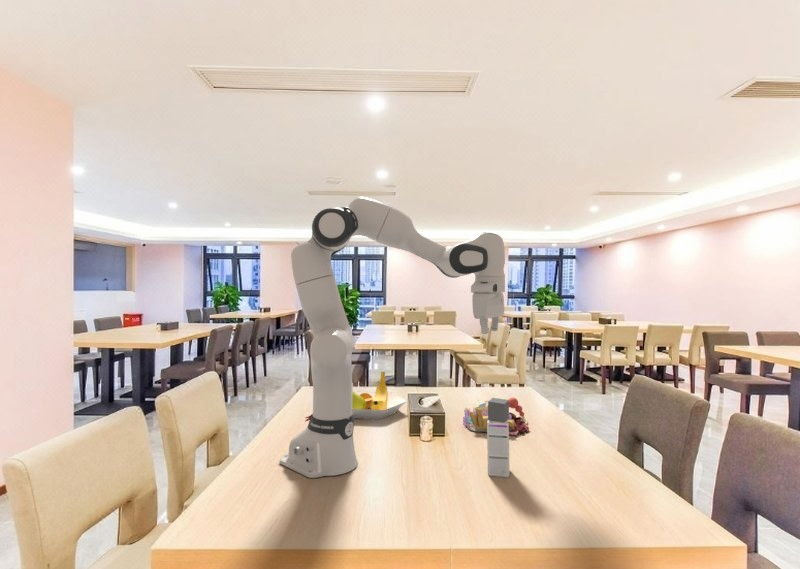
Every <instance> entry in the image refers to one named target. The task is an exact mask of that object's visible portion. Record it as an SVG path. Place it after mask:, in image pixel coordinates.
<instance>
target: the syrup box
mask: <svg viewBox="0 0 800 569" xmlns="http://www.w3.org/2000/svg"><path fill="white" fill-rule="evenodd" d="M486 433H487V434H486V437H487V439H486V443H487V444H486V445H487V476H490V477H499V478H510V434H509V423H508V420H507V421H506V422H505V423H503V422H497V421H491V420H488V418H487V432H486Z"/></svg>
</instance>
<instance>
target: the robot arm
mask: <svg viewBox="0 0 800 569" xmlns="http://www.w3.org/2000/svg"><path fill="white" fill-rule="evenodd" d="M311 230H312V231H311V232H312V233H311V237H310V239H309V240H307V241H304V242H301V243H300V244H298V245H296V246H295V247H293V249H292V251H291V254H290V255H291V256H290V260H291V261H290V262H291V269H292V275H293V280H294V284H295V287H296V291H297V295H298V298H299V302H300V306H301V308H302V312H303V315H304V316H305V318H306V320H307V323H308V325H309V329H310V330H311V333H312V336H313V339H312V341H311V343H310V347H309V348H310V349H309V350H310V351H309V353H310V369H311V370H310V371H311V380H312V414H310V415H308V416H306V417H305V420H304V422H308V425H307V427H305V428H304V429H303V430H301V431H300V432H299V433H298V434H297V435H296V436H294V437H293V438H292V439H291V440H290V442H289V447H288V452H286V453H285V454H284V455H282V457H281V458H280V460H279V464H280V465H283V466H284V467H286V468H288V469H291V470H293V471H295V472H297V473H298V474H301V475H303V476H305V477H307V478H310V479H315V478H320V477H328V476H329V477H330V476H339V475H343V474H346V473H349V472H351V471H353V470H354V469H355V468H357V467H358V464H359V462H358V459H357V455H356V450H355V444H354V443H355V442H354V427H355V418H354V414H353V413H352V392H354V391H353V388H354V387H353V370H352V368H353V367H352V365H353V364H352V357H353V356H352V353H353V350H354V346H355V339H354V336H353V333H352V330H351V326H350V322H349V320H348V317H347V314H346V311H345V309H344V305H343V302H342V299H341V295H340V292H339V288H338V285H337V281H336V278H335V274H334V269H333V267H332V262H331V257H332V256H334V255H335V254H337V253H338V252H341V251H342V250H343V249H345V247H346V246H347V245H348V244H349V242H350V240H351V238H352V237H354V236H361V237H362V236H363V237H366V238H368V239H371V240H372V241H375V242H377V243H379V244H380V245H381V244H382V245H384V246H386V247H387V246H388V247H390V248H394V249H398V250H402V251H405V252H409V253H411V254H413V255H415V256H417V257H419V258H421V259H424V260H426V261H428V262H430V263H431V264H433V265H434V266H435V267H436V268H437V269H438V271H440V272H441V273H442V274H443V275H444V276H446V277H448V278H454V279H455V278H459V277H463V276H469V275H471V274H474V277H475V278H474V282H473V284H472V285H471V286H470V292H471V293H473V294H472V297H471V298H472V301H471V302H472V313H473V317H474V319H475V320H476V319H477V320H479V324H480V329H481V330H480V331H481V332H480V333H481V334H482V335H489V332H490V331H491V332H497V331H498V330H499V322H500V317H502V316H504V314H505V299H504V298H505V297H504V294H503V293H505V292H506V275H505V271H504V268H505V264H506V263H505V262H506V251H505V243H504V240H503V237H501V236H500V235H498V234H496V233H492V232H480V233H478V234H477V235H476V236H474V237H472V238H470V239H469V240H466V241H463V242H461V243H457V244H455V245H453V246H446V245H442V244H440V243H437V242H436V241H434V240H431V239H429V238H428V237H426V236H423V235H422V234H420V233H419V231H417V229H416V228H415V226H414V224H413V220H412V219H411V217H410V216H408V215H407V214H405V213H404V212H402V211H400V210H399V209H397V208H395V207H393V206H391V205H389V204H387V203H384V202H381V201H378V200H375V199H373V198H369V197H364V196H357V197H356V198H354V199H353V200H352V201H351V202H350V203H349V205H348V206H340V207H328V208H324V209H322V210H320V211H319V212H318V213H316V215H315V216H314V218H313V220H312V223H311ZM489 319H491V325H490V329H489V326H488V323H489ZM489 330H490V331H489Z"/></svg>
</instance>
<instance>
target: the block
mask: <svg viewBox="0 0 800 569" xmlns="http://www.w3.org/2000/svg"><path fill="white" fill-rule="evenodd" d="M490 399H491V400H490ZM490 399H488V420H491V421H497V422H503V423H505V422H506V421H507V420H508V418H509V413H510V407H509V400H508V399H506V398H496V397H492V398H490Z"/></svg>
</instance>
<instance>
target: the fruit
mask: <svg viewBox="0 0 800 569" xmlns="http://www.w3.org/2000/svg"><path fill="white" fill-rule="evenodd" d="M380 372H381V373H380V380H379V382H378V384H377V386H376V387H375V388H376V389H375V391H361V390H359V391H358V390H357V391H356V392H354V391H353V392H352V413H353V414H354V419H355V418H366V419H365V420H382V419H384V418H386V417H388V415H389V416H391V415H393V414H395V413H396V412H397V411H398V410H399V409H401V407H403V406H404V405H405V404H406V403H407V402H408V401H407V400H406V399H404V398H403V397H401V396H398V395H397V394H396V393H395V392H394V393H393V392H392V391H391V392H389V391H388V387H387V385H386V372H385V371H380ZM387 405H388V406H389V407H390V408H387ZM368 408H369V409H368ZM394 412H395V413H394ZM392 413H393V414H392ZM390 414H391V415H390ZM385 416H386V417H385ZM383 417H384V418H383ZM381 418H382V419H381Z"/></svg>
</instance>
